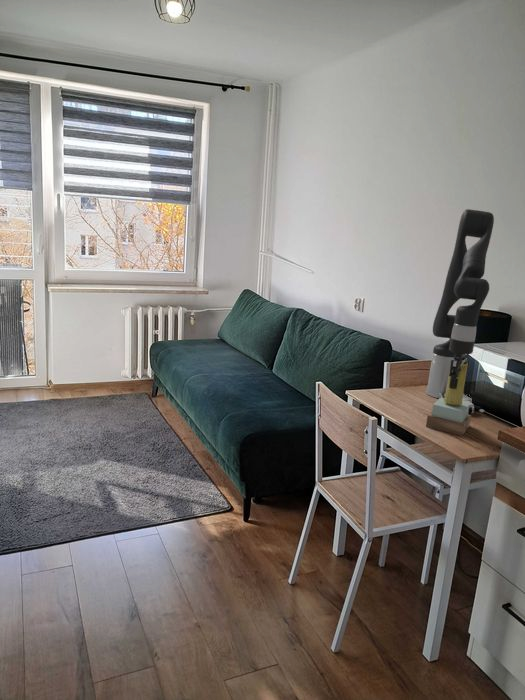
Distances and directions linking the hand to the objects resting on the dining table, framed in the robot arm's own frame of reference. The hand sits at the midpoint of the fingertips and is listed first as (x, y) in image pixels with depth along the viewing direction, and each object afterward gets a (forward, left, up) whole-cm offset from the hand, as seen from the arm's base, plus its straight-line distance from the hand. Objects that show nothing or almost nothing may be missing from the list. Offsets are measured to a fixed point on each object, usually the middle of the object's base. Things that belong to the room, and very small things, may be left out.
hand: (454, 386), depth 188 cm
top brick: (0, 0, -10) cm, 10 cm away
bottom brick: (0, 0, -14) cm, 14 cm away
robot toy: (-23, -1, -15) cm, 28 cm away
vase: (0, 0, -6) cm, 6 cm away
